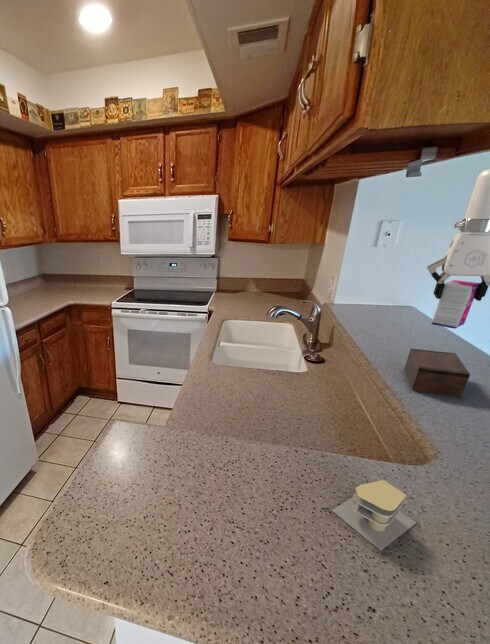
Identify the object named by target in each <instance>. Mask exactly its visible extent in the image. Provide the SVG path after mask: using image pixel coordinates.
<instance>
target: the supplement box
mask: <svg viewBox="0 0 490 644" xmlns="http://www.w3.org/2000/svg"><path fill="white" fill-rule="evenodd" d="M480 283H481V282H475V281H467V280H458V279H453V280H450V281H448V282H447V281H446V282H444V284H445V287H444V290H443V293H442V296H441V298H440V299H438V304H437V306H436V309H435V312H434V316H433V318H432V321H431V325H433V326H437V327H444V328H449V329H454V330H455V329H458V328H460V327H461V326H463V325H465V323H466V320H467V318H468V315H469V312H470V309H471V307H472V305H473V302H474V299H475V298H474V297H475V294H476V292H477V289H478V286H479V284H480Z"/></svg>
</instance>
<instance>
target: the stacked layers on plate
mask: <svg viewBox="0 0 490 644" xmlns="http://www.w3.org/2000/svg"><path fill="white" fill-rule="evenodd" d="M406 497H407V494H406V493H405V492H404V491H402V490H400V489H398V488H397V487H395V486H394V485H392V484H391V483H389V482H387V481H386V480H384V479H381V480H377V481H376V480H375V481H372V482H367V483H363V484H359V485H358V486H357V487H356V486H355V492H353V496H351V497H350V498H349V499H347V500H345V501H344V502H342V503H341V504H338V505H337V506H336V507H334V508H333V509H331V511H332V513H334V514H335V515H336V516H338V517H339V518H340V519H341V520H342V521H343V522H345V523H346V524H347V525H349V526H350V527H351V528H352V529H353V530H355V531H356V532H357V533H359V534H360V535H361V536H362V537H364V539H366V540H367V542H369V543H371V544H372V545H373V546H375V548H377V549H378V550H379V551H383V550H385V548H387V547H388V546H389V545H390V544H392V543H393V542H394V541H396V540H397V539H398V538H400V537H401V536H402V535H403V534H404V533H406V532H407V531H408V530H410V529H411V528H412V527H414V526H415V525H416V524H417V522H416V521H415V520H413V518H411V517H409V516H408V515H406V514H404V513H403V512H402V511H401V510H402V508H401V507H402V505H403V504H404V503H405V498H406Z"/></svg>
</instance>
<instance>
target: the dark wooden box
mask: <svg viewBox="0 0 490 644" xmlns="http://www.w3.org/2000/svg"><path fill="white" fill-rule="evenodd" d="M403 370H404V374H405V377H406V378H407V381H408V384H409V387H410V389H411V391H414V392H421V393H428V394H434V395H441V396H448V397H456V398H461V397H462V395H463V393H464V391H465V388H466V386H467V383H468V381H469V378H470V376H471V373H470V371H469V370H468V369H467V367H466V366H465V365H464V363H463V362H462V360H461V359H460V357H459V356H458V355H457V353H456V352H445V351H439V350H437V351H436V350H429V349H428V350H427V349H417V348H410V349H409V353H408V355H407V359H406V361H405V366H404V369H403Z"/></svg>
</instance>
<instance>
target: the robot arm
mask: <svg viewBox="0 0 490 644" xmlns="http://www.w3.org/2000/svg"><path fill="white" fill-rule="evenodd" d="M454 229H459V232H456V233H455V235H454V236H453V239H452V241H451V243H450V245H449V247H448V249H447V251H446V254H445V256H444V257H443V258H442V259H439V260H437V261H436V262H433V263H431V264H430V265H427V267H426V269H427V271H428V273H429V274H430V276H431V277H432V278H433V280H434V281H435V282H436V283H435V287H434V290H433V296H434V298H436V300H440V298H441V296H442V293H443V290H444V287H445V283H446V282H447V280H448V279H449V278H450V277H451V276H455V277H480V279H481V282H479V283H480V284H479V286H478V289H477V292H476V294H475V297H474V299H475V301H477V302H480V301H482V298H485V297H486V294H487V292H488V289H489V286H490V168H487V169H485V170H484V169H483V170H482V171H481V172H480V173H479V174H478V176H477V178H476V182H475V184H474V187H473V191H472V194H471V197H470V200H469V203H468V206H467V210H466V212H465V215H464V218H463V219H462V220H461V221H459V222H458V221H457V222H455V224H454ZM440 267H441V271H442V273H440V274H439V273H438V271H437V269H438V268H440Z"/></svg>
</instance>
